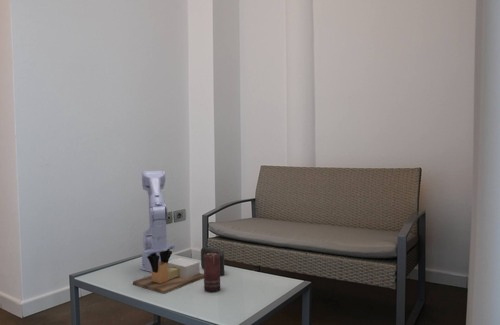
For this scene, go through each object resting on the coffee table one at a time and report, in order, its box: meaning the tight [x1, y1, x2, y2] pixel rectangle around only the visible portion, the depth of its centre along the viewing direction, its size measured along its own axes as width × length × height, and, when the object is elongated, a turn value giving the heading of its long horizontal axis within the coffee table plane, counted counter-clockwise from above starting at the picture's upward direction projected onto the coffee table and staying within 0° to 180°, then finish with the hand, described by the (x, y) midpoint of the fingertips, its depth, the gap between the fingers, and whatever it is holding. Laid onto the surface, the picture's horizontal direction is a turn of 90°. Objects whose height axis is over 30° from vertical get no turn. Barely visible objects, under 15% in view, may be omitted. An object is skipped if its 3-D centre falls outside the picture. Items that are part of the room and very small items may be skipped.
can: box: [203, 252, 221, 293], centre depth 155 cm, size 6×6×14 cm
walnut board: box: [132, 272, 204, 294], centre depth 165 cm, size 18×23×1 cm
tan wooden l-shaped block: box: [150, 261, 180, 283], centre depth 165 cm, size 5×14×7 cm, turn 144°
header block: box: [168, 257, 201, 279], centre depth 171 cm, size 12×8×5 cm, turn 54°
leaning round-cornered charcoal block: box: [200, 246, 225, 276], centre depth 178 cm, size 16×5×9 cm, turn 40°
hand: (159, 270), depth 161 cm, fingers closed on tan wooden l-shaped block, 4 cm apart
